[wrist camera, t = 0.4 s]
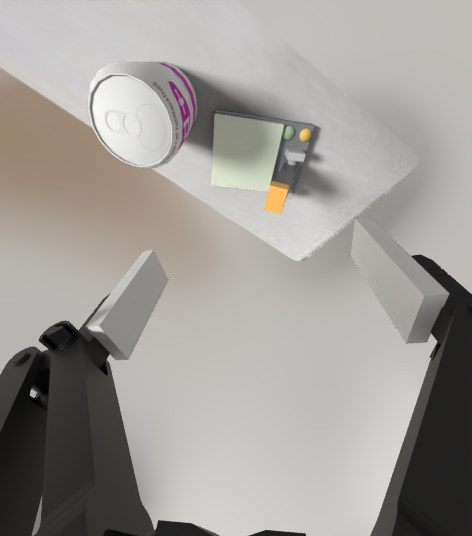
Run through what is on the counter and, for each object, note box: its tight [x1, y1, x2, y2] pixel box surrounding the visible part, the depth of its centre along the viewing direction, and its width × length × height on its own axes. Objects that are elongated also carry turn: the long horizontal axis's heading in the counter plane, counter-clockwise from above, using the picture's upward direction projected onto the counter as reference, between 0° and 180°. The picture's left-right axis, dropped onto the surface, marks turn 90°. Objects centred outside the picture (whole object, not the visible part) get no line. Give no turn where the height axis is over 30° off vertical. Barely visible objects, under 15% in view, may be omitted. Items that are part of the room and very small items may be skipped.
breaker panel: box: [211, 110, 314, 199], centre depth 33 cm, size 10×14×4 cm
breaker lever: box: [264, 160, 298, 214], centre depth 31 cm, size 4×2×11 cm, turn 173°
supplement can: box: [88, 62, 198, 168], centre depth 25 cm, size 8×8×15 cm
